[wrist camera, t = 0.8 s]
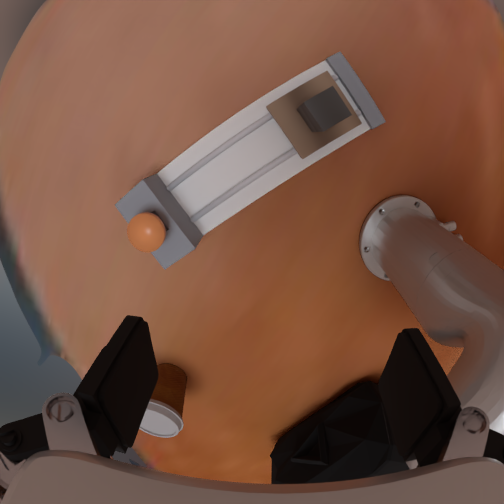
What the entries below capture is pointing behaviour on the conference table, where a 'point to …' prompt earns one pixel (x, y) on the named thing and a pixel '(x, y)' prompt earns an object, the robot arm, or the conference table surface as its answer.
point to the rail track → (237, 165)
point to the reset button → (146, 232)
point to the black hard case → (339, 442)
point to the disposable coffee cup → (166, 403)
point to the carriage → (314, 114)
